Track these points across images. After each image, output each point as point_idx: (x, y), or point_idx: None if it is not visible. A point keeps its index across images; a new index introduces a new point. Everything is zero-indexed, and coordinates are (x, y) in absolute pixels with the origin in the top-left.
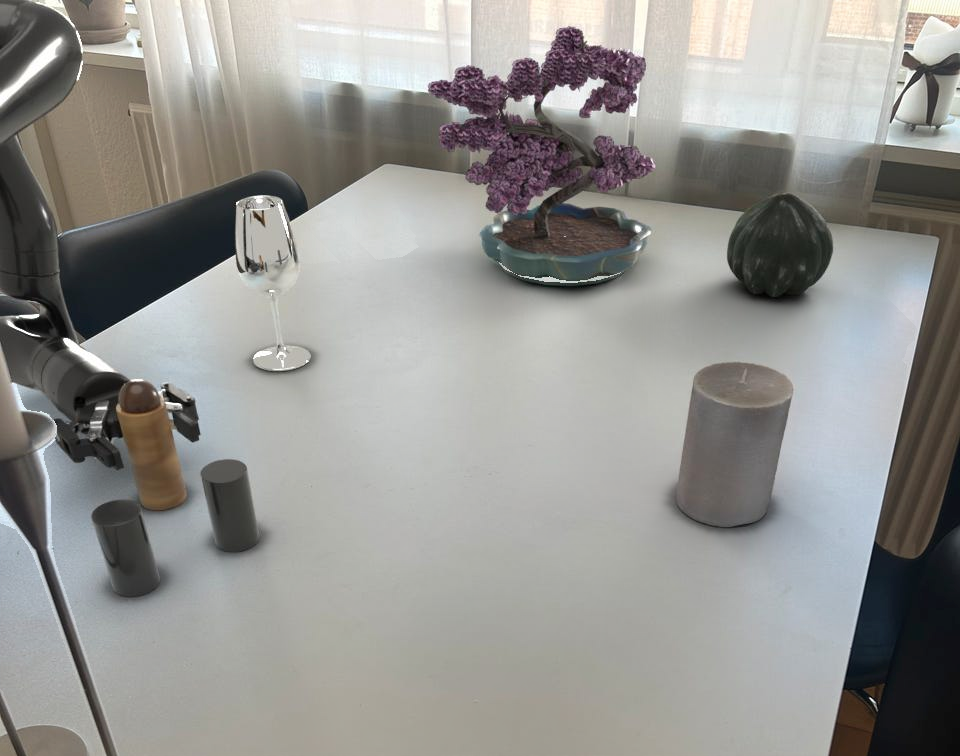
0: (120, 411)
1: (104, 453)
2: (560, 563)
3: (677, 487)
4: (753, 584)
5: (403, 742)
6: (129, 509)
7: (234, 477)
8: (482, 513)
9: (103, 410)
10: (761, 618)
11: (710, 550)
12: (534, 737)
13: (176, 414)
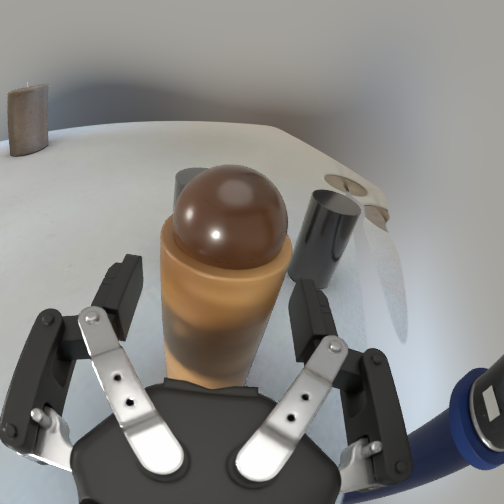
0: (286, 241)
1: (323, 297)
2: (97, 155)
3: (29, 146)
4: (83, 133)
5: (243, 155)
6: (324, 197)
7: (204, 169)
8: (63, 182)
9: (275, 423)
10: (103, 130)
11: (65, 141)
12: (205, 141)
13: (120, 297)
